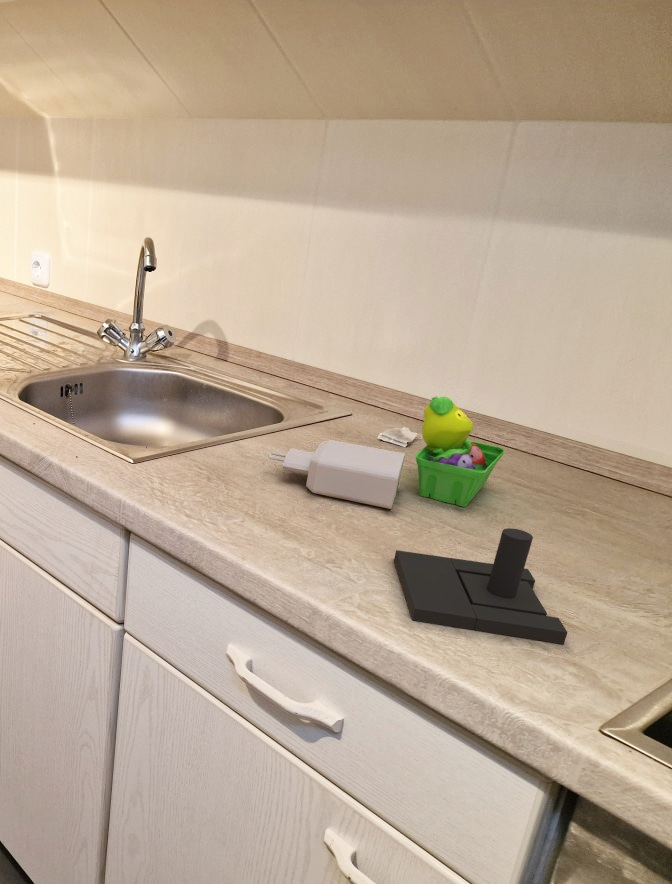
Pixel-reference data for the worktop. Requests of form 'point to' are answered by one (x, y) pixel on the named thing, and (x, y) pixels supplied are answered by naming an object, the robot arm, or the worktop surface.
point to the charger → (348, 471)
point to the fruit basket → (452, 455)
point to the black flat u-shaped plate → (465, 599)
